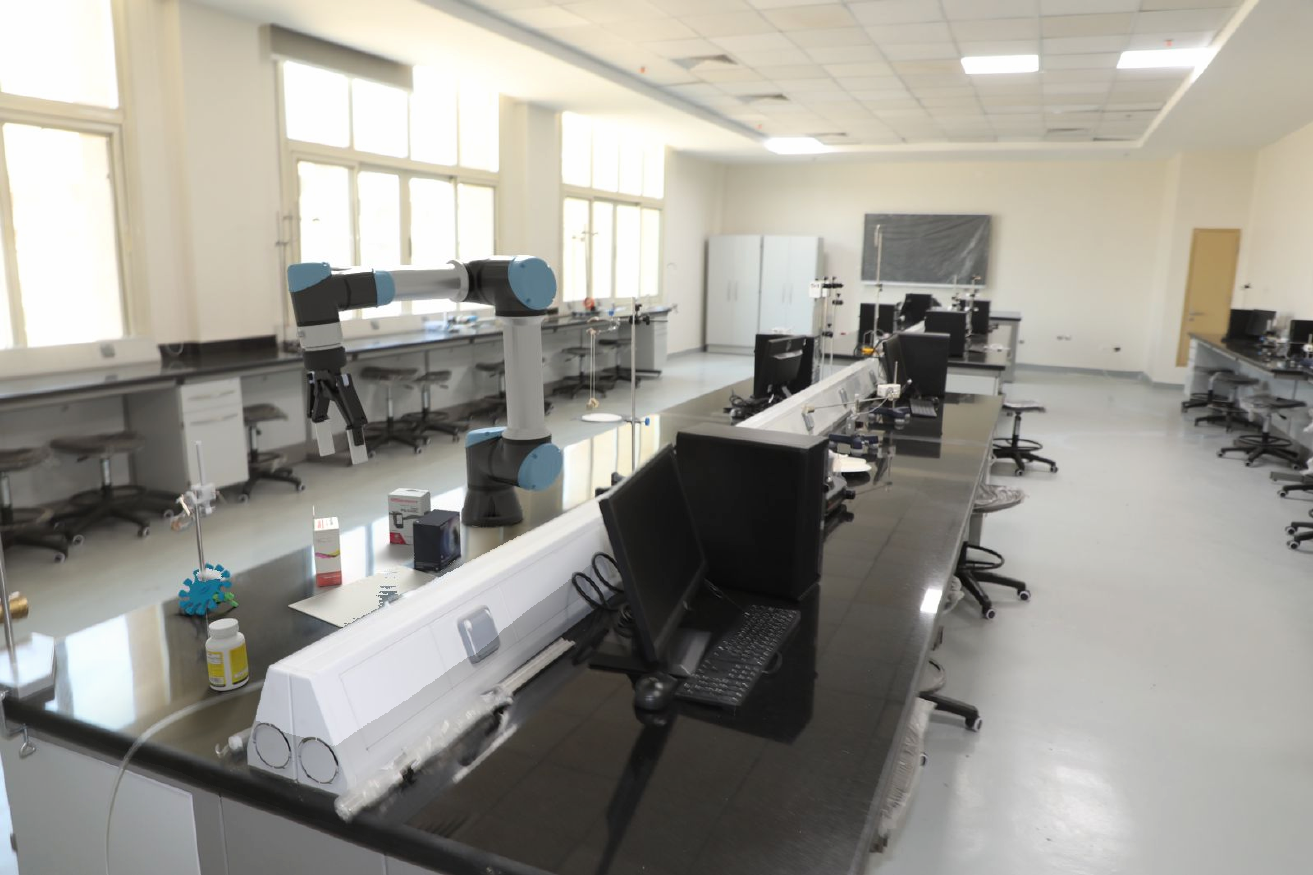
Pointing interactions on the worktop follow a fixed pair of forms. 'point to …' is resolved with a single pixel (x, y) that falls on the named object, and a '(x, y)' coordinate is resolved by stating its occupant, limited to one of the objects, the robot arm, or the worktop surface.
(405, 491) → the ink box
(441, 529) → the small box
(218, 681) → the supplement bottle
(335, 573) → the ink cartridge box
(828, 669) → the worktop surface
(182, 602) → the gear
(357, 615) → the mat
